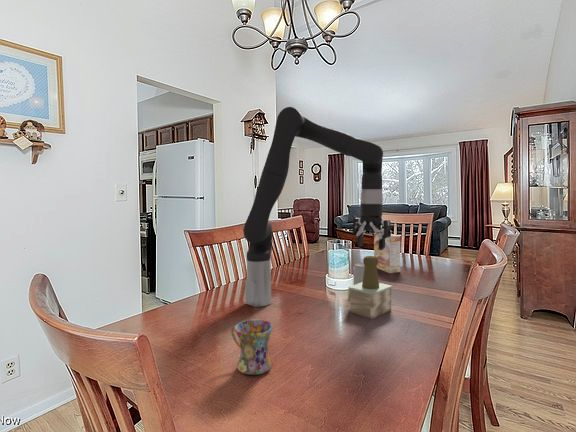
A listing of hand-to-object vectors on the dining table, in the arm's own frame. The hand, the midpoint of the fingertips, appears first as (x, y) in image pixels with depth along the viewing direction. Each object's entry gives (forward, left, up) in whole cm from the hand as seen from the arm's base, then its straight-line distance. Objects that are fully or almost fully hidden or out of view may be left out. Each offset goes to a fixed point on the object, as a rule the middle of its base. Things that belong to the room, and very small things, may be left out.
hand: (370, 248), depth 119 cm
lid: (0, 0, -15) cm, 15 cm away
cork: (0, 0, -14) cm, 14 cm away
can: (+17, +15, -23) cm, 32 cm away
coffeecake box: (+60, +29, -23) cm, 71 cm away
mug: (-54, -1, -23) cm, 59 cm away
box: (0, 0, -23) cm, 23 cm away
